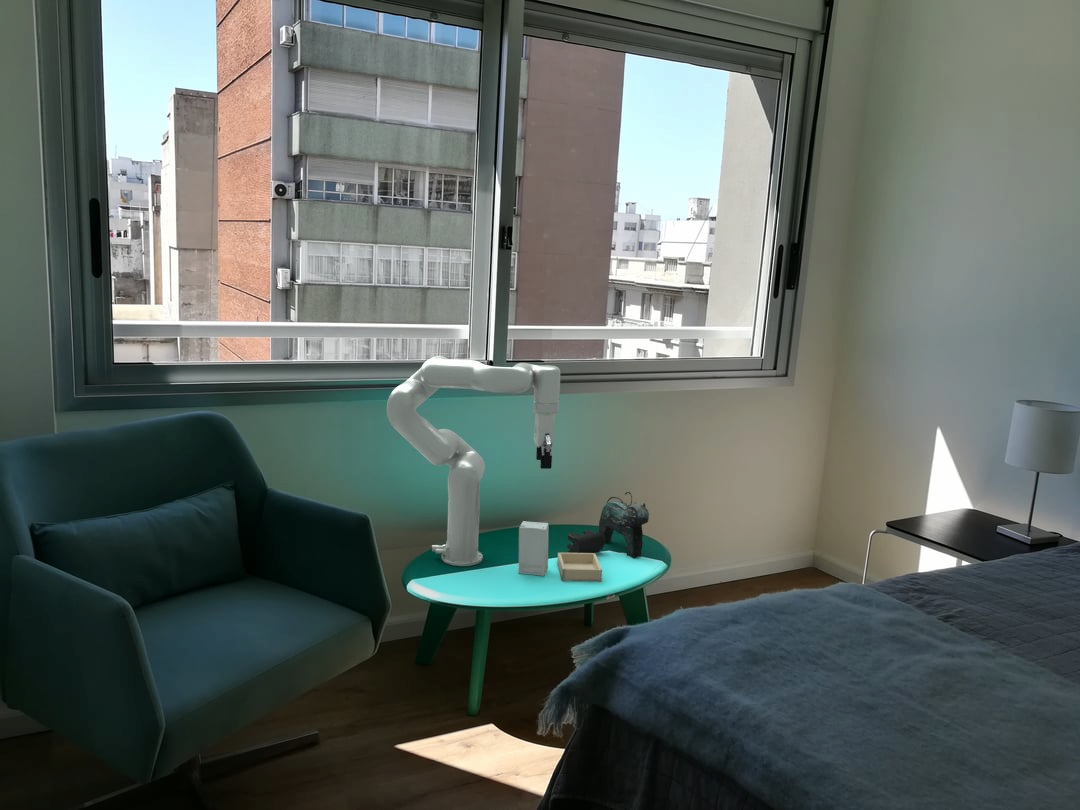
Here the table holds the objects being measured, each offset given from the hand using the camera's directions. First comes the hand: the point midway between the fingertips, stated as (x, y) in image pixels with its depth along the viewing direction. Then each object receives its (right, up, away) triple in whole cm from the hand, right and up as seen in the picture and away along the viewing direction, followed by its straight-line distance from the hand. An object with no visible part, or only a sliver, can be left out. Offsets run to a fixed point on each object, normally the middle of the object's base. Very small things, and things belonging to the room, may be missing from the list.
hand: (543, 464), depth 255 cm
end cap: (+13, -30, +18) cm, 38 cm away
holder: (+11, -33, +2) cm, 34 cm away
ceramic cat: (+25, -30, +23) cm, 45 cm away
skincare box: (-3, -32, +1) cm, 33 cm away
